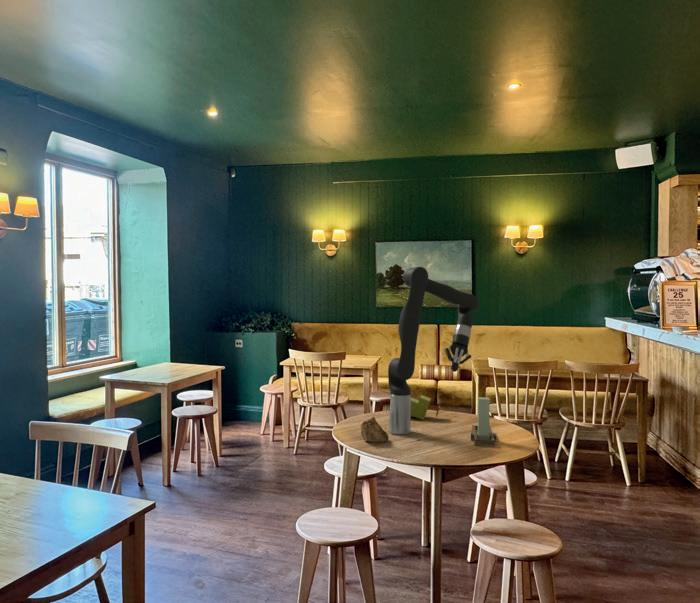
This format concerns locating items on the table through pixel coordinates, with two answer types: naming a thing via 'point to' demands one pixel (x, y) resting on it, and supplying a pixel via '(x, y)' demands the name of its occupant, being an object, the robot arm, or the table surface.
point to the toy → (422, 407)
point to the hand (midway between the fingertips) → (453, 371)
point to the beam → (483, 442)
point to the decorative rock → (373, 431)
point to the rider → (483, 418)
